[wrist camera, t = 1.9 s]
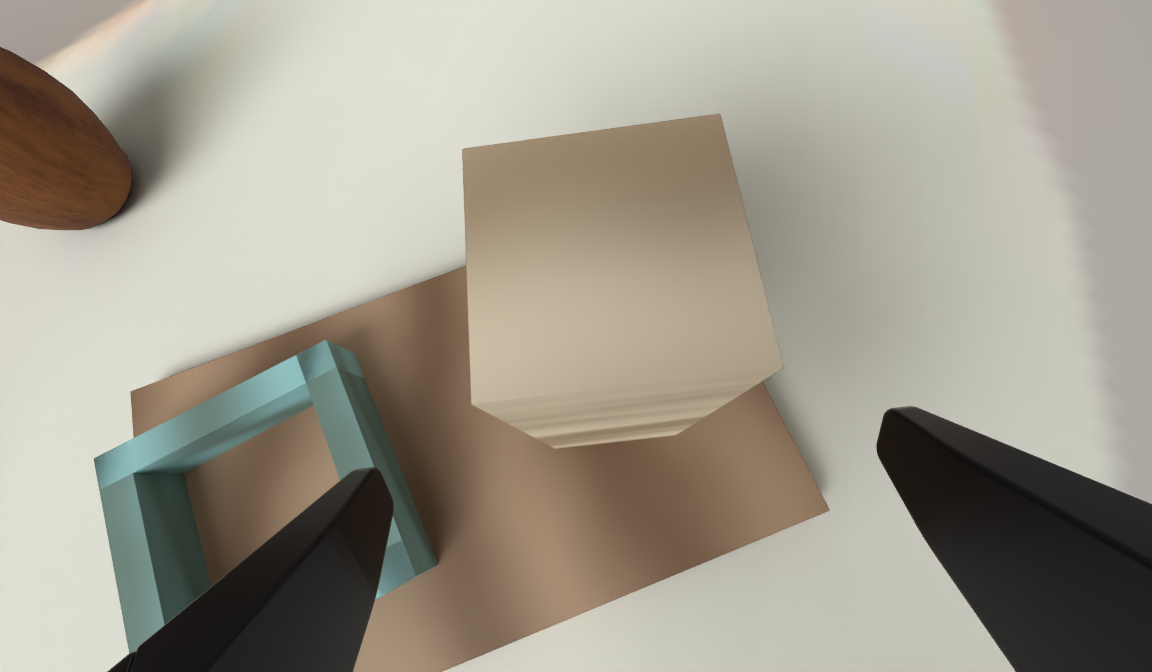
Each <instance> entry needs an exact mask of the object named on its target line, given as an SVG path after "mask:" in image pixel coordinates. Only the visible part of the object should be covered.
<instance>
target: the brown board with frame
mask: <svg viewBox="0 0 1152 672" xmlns="http://www.w3.org/2000/svg"><path fill="white" fill-rule="evenodd" d="M131 405H132V419H133V434H134V438H133V439H131V440H129V441H127V442H125V443H123V444H121V445H119V446H117V447H116V448H114V449H112V450H110V451H108V452H106V453H104V454H102V455H100V456H98V457H96V458H94V463H95V468H96V474H97V479H98V485H99V490H100V496H101V501H102V506H103V512H104V517H105V523H106V528H107V534H108V539H109V545H110V550H111V555H112V561H113V566H114V572H115V577H116V583H117V588H118V593H119V599H120V604H121V610H122V615H123V621H124V626H125V632H126V637H127V642H128V648H129V653H131V652H136V651H137V648H138V646H140V645H141V644H142V643H143V642H144V641H145V640H147V639H148V638H149V637H150V636H152V635H153V634H154V633H155V632H156V631H158V630H159V629H160V628H161V627H163V626H164V625H165V624H166V623H167V622H169V621H170V620H171V619H172V618H173V617H175V616H176V615H177V614H178V613H180V612H181V611H182V610H183V609H184V608H186V607H187V606H188V605H189V604H191V603H192V602H193V601H194V600H195V599H197V598H198V597H199V596H200V595H201V594H203V593H204V592H205V591H206V590H208V589H209V588H210V587H211V586H212V585H214V584H215V583H216V582H217V581H219V580H220V579H221V578H222V577H223V576H225V575H226V574H227V573H228V572H229V571H231V570H232V569H233V568H234V567H236V566H237V565H238V564H239V563H240V562H242V561H243V560H244V559H245V558H246V557H248V556H249V555H250V554H251V553H253V552H254V551H255V550H256V549H257V548H259V547H260V546H261V545H262V544H264V543H265V542H266V541H267V540H268V539H270V538H271V537H272V536H273V535H274V534H276V533H277V532H278V531H279V530H281V529H282V528H283V527H284V526H285V525H287V524H288V523H289V522H290V521H291V520H293V519H294V518H295V517H296V516H298V515H299V514H300V513H301V512H302V511H304V510H305V509H306V508H307V507H309V506H310V505H311V504H312V503H313V502H315V501H316V500H317V499H318V498H319V497H321V496H322V495H323V494H324V493H326V492H327V491H328V490H329V489H330V488H332V487H333V486H334V485H335V484H336V483H338V482H339V481H340V480H341V479H343V478H344V477H345V476H346V475H347V474H349V473H350V472H351V471H353V470H355V469H361V468H370V467H375V468H378V469H379V470H380V471H381V473H382V475H383V477H384V480H385V482H386V484H387V486H388V489H389V491H390V493H391V496H392V498H393V502H394V512H393V517H392V522H391V527H390V532H389V537H388V542H387V547H386V552H385V557H384V562H383V567H382V572H381V577H380V582H379V586H378V590H377V595H376V598H375V602H374V605H373V609H372V612H371V616H370V619H369V622H368V625H367V628H366V632H365V635H364V638H363V641H362V645H361V648H360V651H359V654H358V657H357V661H356V664H355V667H354V670H353V672H442V671H445V670H447V669H450V668H452V667H454V666H457V665H459V664H462V663H464V662H466V661H469V660H471V659H474V658H476V657H478V656H481V655H483V654H486V653H488V652H490V651H493V650H495V649H498V648H500V647H502V646H505V645H507V644H510V643H512V642H514V641H517V640H519V639H522V638H524V637H527V636H529V635H531V634H534V633H536V632H539V631H541V630H543V629H546V628H548V627H551V626H553V625H555V624H558V623H560V622H563V621H565V620H567V619H570V618H572V617H575V616H577V615H579V614H582V613H584V612H587V611H589V610H591V609H594V608H596V607H599V606H601V605H603V604H606V603H608V602H611V601H613V600H615V599H618V598H620V597H623V596H625V595H627V594H630V593H632V592H635V591H637V590H639V589H642V588H644V587H647V586H649V585H651V584H654V583H656V582H659V581H661V580H664V579H666V578H668V577H671V576H673V575H676V574H678V573H680V572H683V571H685V570H688V569H690V568H692V567H695V566H697V565H700V564H702V563H704V562H707V561H709V560H712V559H714V558H716V557H719V556H721V555H724V554H726V553H728V552H731V551H733V550H736V549H738V548H740V547H743V546H745V545H748V544H750V543H752V542H755V541H757V540H760V539H762V538H764V537H767V536H769V535H772V534H774V533H776V532H779V531H781V530H784V529H786V528H788V527H791V526H793V525H796V524H798V523H801V522H803V521H805V520H808V519H810V518H813V517H815V516H817V515H820V514H822V513H825V512H827V511H829V508H828V506H827V504H826V502H825V500H824V498H823V496H822V494H821V492H820V490H819V489H818V487H817V485H816V483H815V481H814V479H813V477H812V475H811V473H810V471H809V469H808V468H807V466H806V464H805V462H804V460H803V458H802V456H801V454H800V452H799V450H798V448H797V447H796V445H795V443H794V441H793V439H792V437H791V435H790V433H789V431H788V429H787V427H786V426H785V424H784V422H783V420H782V418H781V416H780V414H779V412H778V410H777V408H776V406H775V405H774V403H773V401H772V399H771V397H770V395H769V393H768V391H767V389H766V387H765V385H764V384H763V382H760V383H759V384H757V385H755V386H754V387H752V388H751V389H749V390H747V391H746V392H744V393H743V394H741V395H739V396H738V397H736V398H734V399H733V400H731V401H730V402H728V403H726V404H725V405H723V406H722V407H720V408H718V409H717V410H715V411H714V412H712V413H710V414H709V415H707V416H706V417H704V418H702V419H701V420H699V421H698V422H696V423H694V424H693V425H691V426H690V427H688V428H686V429H685V430H683V431H682V432H680V433H678V434H677V435H675V436H666V437H657V438H648V439H639V440H631V441H622V442H613V443H604V444H595V445H586V446H578V447H569V448H560V449H554V448H553V447H551V446H549V445H547V444H545V443H543V442H541V441H539V440H538V439H536V438H534V437H532V436H530V435H528V434H526V433H524V432H522V431H521V430H519V429H517V428H515V427H513V426H511V425H509V424H507V423H506V422H504V421H502V420H500V419H498V418H496V417H494V416H492V415H491V414H489V413H487V412H485V411H483V410H481V409H479V408H477V407H475V406H474V405H472V404H471V379H470V351H469V324H468V296H467V268H466V266H464V267H462V268H459V269H456V270H454V271H451V272H448V273H446V274H443V275H440V276H438V277H435V278H432V279H430V280H427V281H424V282H422V283H419V284H416V285H414V286H411V287H408V288H406V289H403V290H400V291H398V292H395V293H392V294H390V295H387V296H384V297H382V298H379V299H376V300H374V301H371V302H368V303H366V304H363V305H360V306H358V307H355V308H352V309H350V310H347V311H344V312H342V313H339V314H336V315H334V316H331V317H328V318H326V319H323V320H320V321H318V322H315V323H312V324H310V325H307V326H304V327H302V328H299V329H296V330H294V331H291V332H288V333H286V334H283V335H280V336H278V337H275V338H272V339H270V340H267V341H264V342H261V343H259V344H256V345H253V346H251V347H248V348H245V349H243V350H240V351H237V352H235V353H232V354H229V355H227V356H224V357H221V358H219V359H216V360H213V361H211V362H208V363H205V364H203V365H200V366H197V367H195V368H192V369H189V370H187V371H184V372H181V373H179V374H176V375H173V376H171V377H168V378H165V379H163V380H160V381H157V382H155V383H152V384H149V385H147V386H144V387H141V388H139V389H136V390H133V391H131Z"/></svg>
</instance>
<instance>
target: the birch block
mask: <svg viewBox="0 0 1152 672" xmlns="http://www.w3.org/2000/svg"><path fill="white" fill-rule="evenodd" d="M462 157H463V185H464V212H465V240H466V268H467V296H468V324H469V351H470V379H471V404H472V405H474V406H475V407H477V408H479V409H481V410H483V411H485V412H487V413H489V414H491V415H492V416H494V417H496V418H498V419H500V420H502V421H504V422H506V423H507V424H509V425H511V426H513V427H515V428H517V429H519V430H521V431H522V432H524V433H526V434H528V435H530V436H532V437H534V438H536V439H538V440H539V441H541V442H543V443H545V444H547V445H549V446H551V447H553V448H554V449H560V448H569V447H578V446H586V445H595V444H604V443H613V442H622V441H631V440H639V439H648V438H657V437H666V436H675V435H677V434H678V433H680V432H682V431H683V430H685V429H686V428H688V427H690V426H691V425H693V424H694V423H696V422H698V421H699V420H701V419H702V418H704V417H706V416H707V415H709V414H710V413H712V412H714V411H715V410H717V409H718V408H720V407H722V406H723V405H725V404H726V403H728V402H730V401H731V400H733V399H734V398H736V397H738V396H739V395H741V394H743V393H744V392H746V391H747V390H749V389H751V388H752V387H754V386H755V385H757V384H759V383H760V382H762V381H763V380H765V379H767V378H768V377H770V376H771V375H773V374H775V373H776V372H778V371H779V370H781V369H783V368H784V367H783V363H782V359H781V355H780V351H779V347H778V343H777V339H776V335H775V331H774V327H773V323H772V319H771V315H770V311H769V307H768V303H767V299H766V295H765V291H764V287H763V283H762V279H761V275H760V271H759V267H758V263H757V259H756V255H755V251H754V247H753V243H752V239H751V235H750V231H749V227H748V223H747V219H746V215H745V211H744V207H743V203H742V199H741V195H740V191H739V187H738V183H737V179H736V175H735V171H734V167H733V163H732V159H731V155H730V151H729V147H728V143H727V139H726V135H725V131H724V127H723V123H722V119H721V115H720V114H714V115H707V116H699V117H692V118H685V119H677V120H670V121H663V122H655V123H648V124H641V125H633V126H626V127H619V128H611V129H604V130H597V131H589V132H582V133H575V134H567V135H560V136H553V137H545V138H538V139H531V140H523V141H516V142H508V143H501V144H494V145H486V146H479V147H472V148H464V149H462Z"/></svg>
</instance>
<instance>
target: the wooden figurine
mask: <svg viewBox="0 0 1152 672" xmlns="http://www.w3.org/2000/svg"><path fill="white" fill-rule="evenodd" d="M131 180H132V174H131V168H130V164H129V161H128V157H127V156H126V154H125V153H124V152H123V151H122V149H121V148H120V147H119V145H118V144H117V142H116V141H115V139H114V138H113V136H112V135H111V133H110V132H109V131H108V129H107V128H106V127H105V126H104V124H103V123H102V122H101V121H100V120H99V118H98V117H97V116H96V115H95V114H94V112H93V111H92V110H91V109H90V108H89V107H88V106H87V105H86V104H85V103H84V102H83V101H82V100H81V99H80V98H79V97H78V96H77V95H76V94H75V93H74V92H73V91H71V90H70V89H69V88H67V87H66V86H65V85H63V84H62V83H60V82H59V81H58V80H56V79H55V78H54V77H52V76H51V75H49V74H48V73H47V72H45V71H44V70H42V69H40V68H39V67H37V66H35V65H33V64H32V63H30V62H28V61H26V60H25V59H23V58H21V57H19V56H18V55H16V54H14V53H13V52H11V51H8V50H6V49H4V48H1V47H0V220H2V221H5V222H8V223H12V224H17V225H23V226H28V227H33V228H38V229H51V230H83V229H88V228H92V227H94V226H96V225H99V224H101V223H103V222H105V221H106V220H108V219H109V218H111V217H112V216H113V215H115V214H116V213H118V211H119V210H120V208H121V207H122V206H123V204H124V203H125V201H126V200H127V197H128V194H129V192H130V189H131Z"/></svg>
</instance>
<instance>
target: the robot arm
mask: <svg viewBox="0 0 1152 672" xmlns="http://www.w3.org/2000/svg"><path fill="white" fill-rule="evenodd" d="M877 454H878V457H879V459H880V461H881V463H882V465H883V466H884V468H885V470H886V472H887V474H888V475H889V477H890V479H891V481H892V482H893V484H894V486H895V488H896V490H897V491H898V493H899V495H900V497H901V499H902V500H903V502H904V504H905V506H906V508H907V509H908V511H909V513H910V515H911V517H912V518H913V520H914V522H915V524H916V526H917V527H918V529H919V531H920V532H921V534H922V536H923V537H924V539H925V541H926V542H927V544H928V545H929V547H930V548H931V550H932V551H933V553H934V554H935V556H936V557H937V558H938V560H939V561H940V563H941V564H942V566H943V567H944V569H945V570H946V571H947V573H948V574H949V576H950V577H951V579H952V580H953V582H954V583H955V584H956V586H957V587H958V589H959V590H960V592H961V593H962V595H963V596H964V597H965V599H966V600H967V602H968V603H969V605H970V606H971V608H972V609H973V610H974V612H975V613H976V615H977V616H978V618H979V619H980V621H981V622H982V623H983V625H984V626H985V628H986V629H987V631H988V632H989V634H990V635H991V636H992V638H993V639H994V641H995V642H996V644H997V645H998V647H999V648H1000V649H1001V651H1002V652H1003V654H1004V655H1005V657H1006V658H1007V660H1008V661H1009V662H1010V664H1011V665H1012V667H1013V668H1014V670H1015V671H1016V672H1152V504H1150V503H1148V502H1145V501H1143V500H1140V499H1138V498H1135V497H1133V496H1131V495H1128V494H1126V493H1123V492H1121V491H1118V490H1116V489H1114V488H1111V487H1109V486H1106V485H1104V484H1101V483H1099V482H1097V481H1094V480H1092V479H1089V478H1087V477H1084V476H1082V475H1080V474H1077V473H1075V472H1072V471H1070V470H1067V469H1065V468H1063V467H1060V466H1058V465H1055V464H1053V463H1050V462H1048V461H1046V460H1043V459H1041V458H1038V457H1036V456H1033V455H1031V454H1029V453H1026V452H1024V451H1021V450H1019V449H1016V448H1014V447H1012V446H1009V445H1007V444H1004V443H1002V442H999V441H997V440H995V439H992V438H990V437H987V436H985V435H982V434H980V433H978V432H975V431H973V430H970V429H968V428H965V427H963V426H961V425H958V424H956V423H953V422H951V421H948V420H946V419H944V418H941V417H939V416H936V415H934V414H931V413H929V412H927V411H924V410H922V409H919V408H917V407H912V406H908V407H899V408H891V409H889V410H887V411H886V412H885V413H884V416H883V420H882V424H881V428H880V432H879V436H878V440H877ZM393 512H394V502H393V498H392V496H391V493H390V491H389V489H388V486H387V484H386V482H385V480H384V477H383V475H382V473H381V471H380V470H379V469H378V468H375V467H370V468H361V469H355V470H353V471H351V472H350V473H349V474H347V475H346V476H345V477H344V478H343V479H341V480H340V481H339V482H338V483H336V484H335V485H334V486H333V487H332V488H330V489H329V490H328V491H327V492H326V493H324V494H323V495H322V496H321V497H319V498H318V499H317V500H316V501H315V502H313V503H312V504H311V505H310V506H309V507H307V508H306V509H305V510H304V511H302V512H301V513H300V514H299V515H298V516H296V517H295V518H294V519H293V520H291V521H290V522H289V523H288V524H287V525H285V526H284V527H283V528H282V529H281V530H279V531H278V532H277V533H276V534H274V535H273V536H272V537H271V538H270V539H268V540H267V541H266V542H265V543H264V544H262V545H261V546H260V547H259V548H257V549H256V550H255V551H254V552H253V553H251V554H250V555H249V556H248V557H246V558H245V559H244V560H243V561H242V562H240V563H239V564H238V565H237V566H236V567H234V568H233V569H232V570H231V571H229V572H228V573H227V574H226V575H225V576H223V577H222V578H221V579H220V580H219V581H217V582H216V583H215V584H214V585H212V586H211V587H210V588H209V589H208V590H206V591H205V592H204V593H203V594H201V595H200V596H199V597H198V598H197V599H195V600H194V601H193V602H192V603H191V604H189V605H188V606H187V607H186V608H184V609H183V610H182V611H181V612H180V613H178V614H177V615H176V616H175V617H173V618H172V619H171V620H170V621H169V622H167V623H166V624H165V625H164V626H163V627H161V628H160V629H159V630H158V631H156V632H155V633H154V634H153V635H152V636H150V637H149V638H148V639H147V640H145V641H144V642H143V643H142V644H141V645H140V646H138V648H137V651H136V652H131V653H129V654H128V655H127V656H126V657H125V658H123V659H122V660H121V661H120V662H119V663H117V664H116V665H115V666H114V667H113V668H111V669H110V670H109V671H108V672H353V670H354V667H355V664H356V661H357V657H358V654H359V651H360V648H361V645H362V641H363V638H364V635H365V632H366V628H367V625H368V622H369V619H370V616H371V612H372V609H373V605H374V602H375V598H376V595H377V590H378V586H379V582H380V577H381V572H382V567H383V562H384V557H385V552H386V547H387V542H388V537H389V532H390V527H391V522H392V517H393Z"/></svg>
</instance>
